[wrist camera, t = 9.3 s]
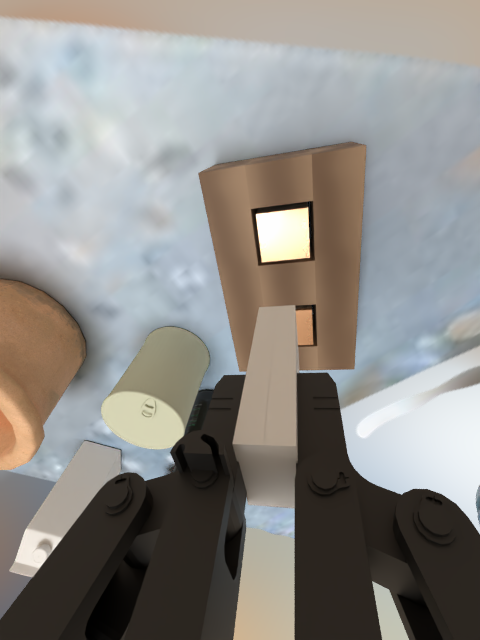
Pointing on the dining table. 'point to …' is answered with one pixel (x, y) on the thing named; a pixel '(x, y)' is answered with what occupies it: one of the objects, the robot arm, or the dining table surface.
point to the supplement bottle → (198, 413)
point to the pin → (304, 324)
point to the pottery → (32, 366)
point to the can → (158, 389)
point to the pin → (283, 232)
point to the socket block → (296, 274)
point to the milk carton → (66, 504)
